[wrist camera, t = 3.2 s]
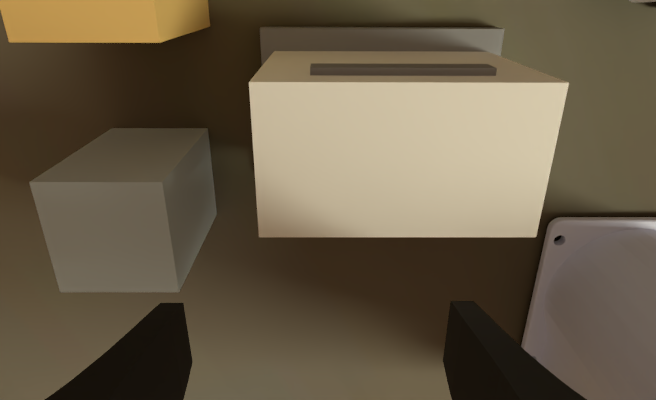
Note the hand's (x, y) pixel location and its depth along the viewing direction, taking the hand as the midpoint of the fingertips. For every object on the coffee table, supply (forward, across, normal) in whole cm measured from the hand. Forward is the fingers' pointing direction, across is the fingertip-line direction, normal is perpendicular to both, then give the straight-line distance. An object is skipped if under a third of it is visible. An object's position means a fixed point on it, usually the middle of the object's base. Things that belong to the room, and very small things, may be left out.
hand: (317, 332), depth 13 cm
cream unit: (+9, -2, -4) cm, 10 cm away
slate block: (+9, +7, -1) cm, 11 cm away
